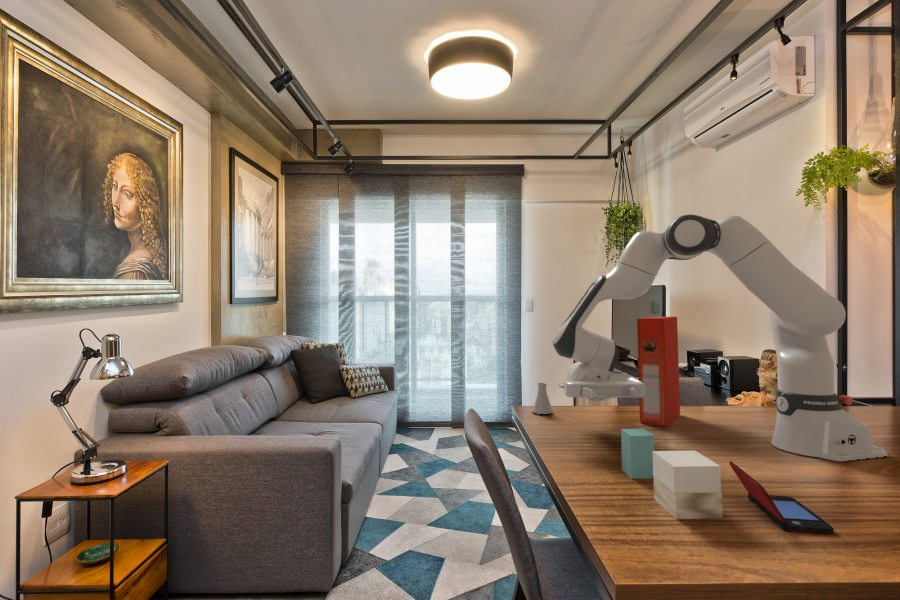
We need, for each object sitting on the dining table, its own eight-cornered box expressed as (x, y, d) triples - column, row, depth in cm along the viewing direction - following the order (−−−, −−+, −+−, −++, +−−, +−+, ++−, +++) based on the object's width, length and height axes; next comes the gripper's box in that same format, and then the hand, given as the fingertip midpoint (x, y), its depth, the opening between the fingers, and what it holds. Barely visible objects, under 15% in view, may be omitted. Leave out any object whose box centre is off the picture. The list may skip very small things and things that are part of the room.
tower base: (695, 498, 84) (695, 474, 84) (722, 518, 76) (722, 492, 76) (653, 499, 84) (653, 475, 84) (676, 519, 76) (675, 493, 76)
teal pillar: (644, 469, 98) (643, 428, 98) (654, 478, 93) (654, 435, 93) (621, 469, 98) (621, 429, 98) (631, 478, 93) (630, 435, 93)
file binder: (638, 422, 135) (636, 318, 136) (653, 411, 149) (651, 316, 149) (667, 427, 130) (665, 318, 131) (680, 415, 144) (678, 316, 144)
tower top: (695, 474, 84) (694, 450, 84) (721, 492, 76) (720, 466, 76) (652, 474, 84) (652, 451, 84) (674, 493, 76) (673, 466, 76)
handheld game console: (838, 537, 70) (836, 489, 70) (761, 532, 72) (760, 485, 72) (792, 502, 82) (791, 461, 82) (728, 498, 84) (727, 458, 84)
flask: (553, 416, 145) (553, 385, 145) (531, 415, 147) (531, 385, 147) (553, 410, 152) (552, 381, 152) (531, 410, 154) (531, 381, 154)
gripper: (557, 372, 122) (571, 381, 108) (631, 372, 122) (655, 381, 108) (557, 395, 122) (571, 407, 108) (631, 395, 122) (655, 407, 108)
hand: (613, 394), depth 108 cm, fingers open, 8 cm apart
